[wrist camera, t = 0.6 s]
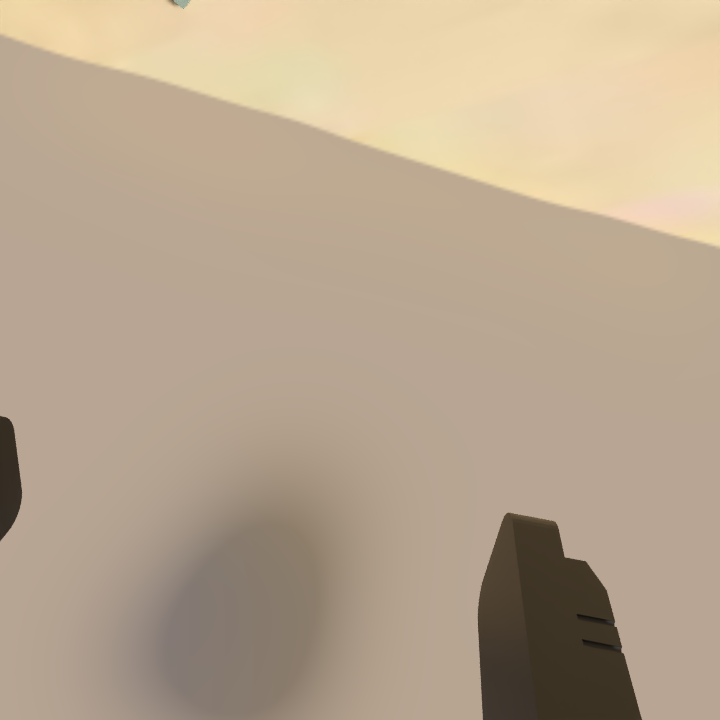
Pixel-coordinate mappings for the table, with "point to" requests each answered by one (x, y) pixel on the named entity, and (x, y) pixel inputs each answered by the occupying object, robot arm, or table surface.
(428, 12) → the table surface
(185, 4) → the mat
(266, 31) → the table surface
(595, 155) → the table surface
